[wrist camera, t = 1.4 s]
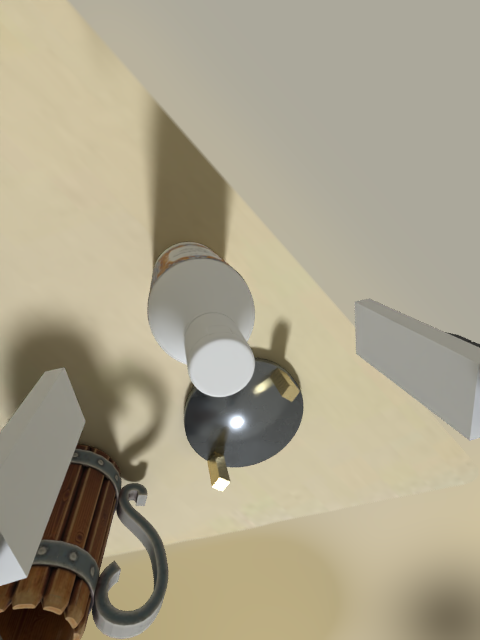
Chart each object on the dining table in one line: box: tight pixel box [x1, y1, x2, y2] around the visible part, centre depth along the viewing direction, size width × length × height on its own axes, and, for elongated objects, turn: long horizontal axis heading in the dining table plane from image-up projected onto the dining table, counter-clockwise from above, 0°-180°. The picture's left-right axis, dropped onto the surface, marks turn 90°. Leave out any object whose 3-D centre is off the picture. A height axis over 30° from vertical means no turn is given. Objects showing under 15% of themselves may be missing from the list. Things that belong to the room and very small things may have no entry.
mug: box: [0, 445, 168, 640], centre depth 31 cm, size 16×11×15 cm
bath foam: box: [148, 242, 255, 397], centre depth 23 cm, size 7×7×20 cm
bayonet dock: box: [184, 358, 303, 491], centre depth 36 cm, size 14×14×5 cm
